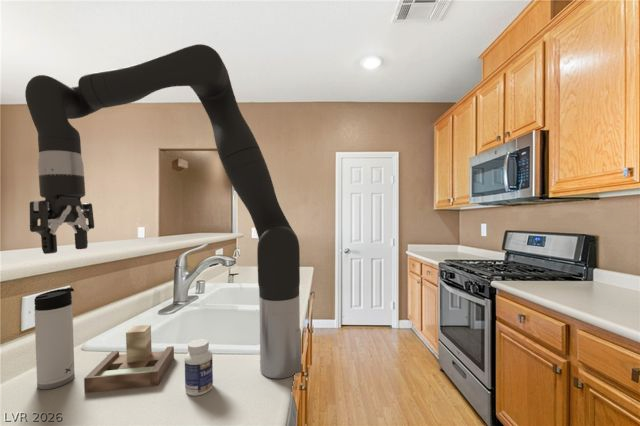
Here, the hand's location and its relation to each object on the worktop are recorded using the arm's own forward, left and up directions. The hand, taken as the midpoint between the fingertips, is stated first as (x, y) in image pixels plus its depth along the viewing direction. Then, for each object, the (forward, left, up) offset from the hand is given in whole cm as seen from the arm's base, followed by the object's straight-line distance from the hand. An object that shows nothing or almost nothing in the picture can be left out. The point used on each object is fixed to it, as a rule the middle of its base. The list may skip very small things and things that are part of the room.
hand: (67, 251), depth 67 cm
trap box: (-12, -2, -29) cm, 31 cm away
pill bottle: (-28, +7, -29) cm, 41 cm away
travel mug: (+4, -2, -29) cm, 29 cm away
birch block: (-12, -5, -27) cm, 30 cm away
